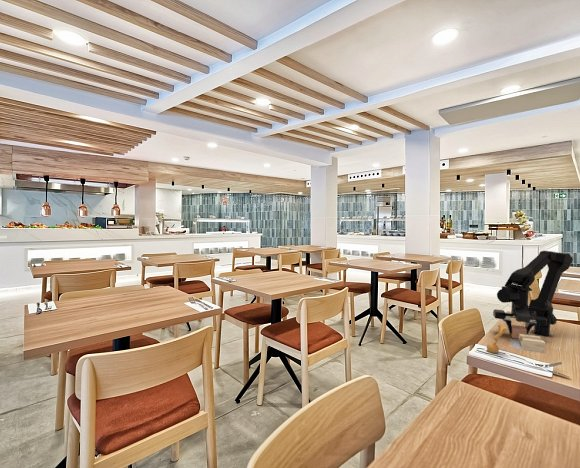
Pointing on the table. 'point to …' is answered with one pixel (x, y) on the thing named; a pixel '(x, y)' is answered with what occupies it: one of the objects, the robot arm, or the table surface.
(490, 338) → the table surface
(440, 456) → the table surface
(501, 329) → the figurine
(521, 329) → the top brick
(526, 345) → the base brick
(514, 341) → the build plate
